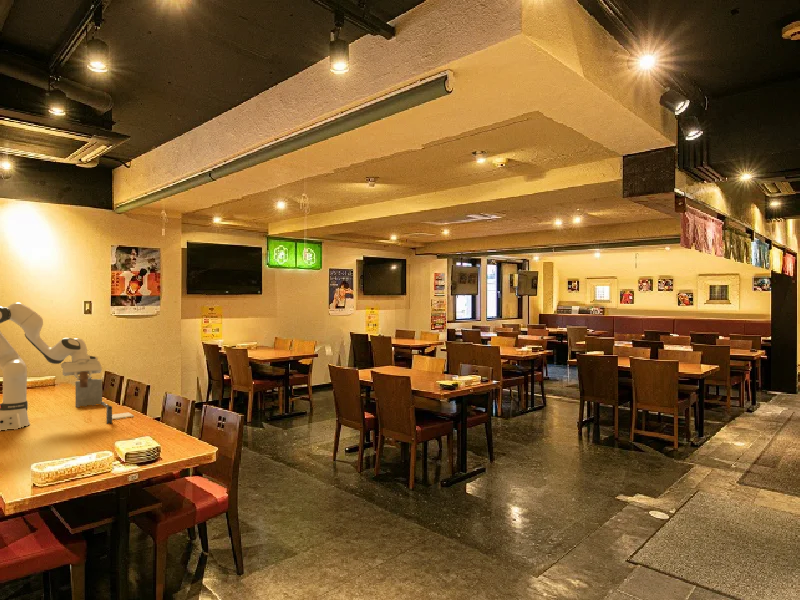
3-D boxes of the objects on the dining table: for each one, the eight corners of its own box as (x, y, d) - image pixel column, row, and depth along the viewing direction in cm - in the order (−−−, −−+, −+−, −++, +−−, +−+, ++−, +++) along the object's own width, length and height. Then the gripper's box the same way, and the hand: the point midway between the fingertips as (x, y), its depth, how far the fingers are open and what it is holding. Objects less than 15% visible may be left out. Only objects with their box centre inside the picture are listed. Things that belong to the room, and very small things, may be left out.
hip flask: (75, 407, 349) (75, 378, 349) (74, 406, 352) (74, 377, 352) (102, 404, 359) (102, 376, 359) (101, 403, 362) (101, 375, 363)
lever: (107, 423, 302) (107, 406, 302) (100, 418, 316) (100, 401, 316) (112, 423, 304) (112, 405, 304) (104, 418, 317) (104, 401, 317)
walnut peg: (80, 387, 304) (80, 372, 304) (79, 387, 307) (79, 372, 307) (88, 387, 307) (88, 372, 307) (86, 386, 310) (86, 371, 310)
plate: (112, 420, 312) (112, 418, 312) (107, 416, 321) (107, 415, 321) (133, 417, 320) (133, 415, 320) (128, 413, 329) (128, 412, 329)
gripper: (61, 359, 305) (64, 377, 298) (100, 356, 319) (103, 374, 312) (59, 365, 309) (62, 384, 301) (98, 363, 322) (102, 380, 315)
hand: (84, 378), depth 307 cm, fingers closed on walnut peg, 4 cm apart
